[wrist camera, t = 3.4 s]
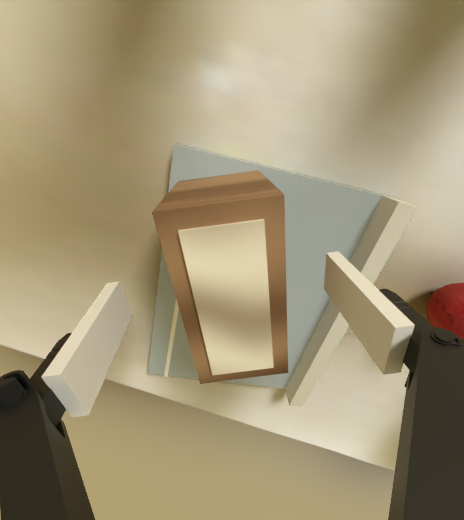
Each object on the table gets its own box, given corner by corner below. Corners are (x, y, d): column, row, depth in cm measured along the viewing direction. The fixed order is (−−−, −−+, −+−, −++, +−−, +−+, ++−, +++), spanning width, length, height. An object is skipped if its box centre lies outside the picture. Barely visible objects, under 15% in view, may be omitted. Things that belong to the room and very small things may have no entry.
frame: (178, 181, 18) (150, 213, 11) (258, 170, 18) (285, 195, 11) (205, 308, 24) (200, 387, 16) (267, 300, 24) (289, 376, 16)
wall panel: (176, 143, 18) (168, 145, 15) (390, 196, 21) (418, 206, 18) (150, 365, 29) (142, 390, 26) (294, 381, 31) (302, 406, 28)
